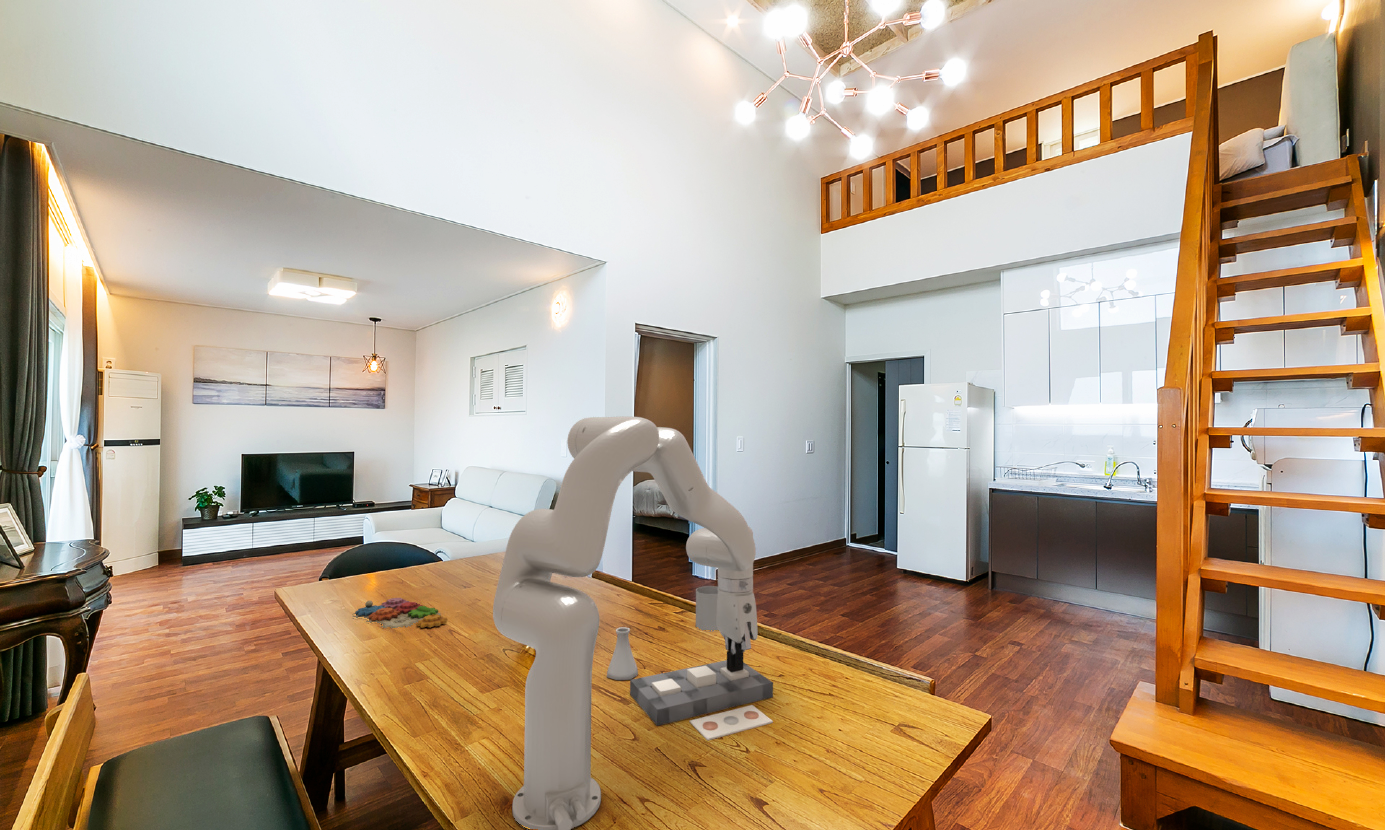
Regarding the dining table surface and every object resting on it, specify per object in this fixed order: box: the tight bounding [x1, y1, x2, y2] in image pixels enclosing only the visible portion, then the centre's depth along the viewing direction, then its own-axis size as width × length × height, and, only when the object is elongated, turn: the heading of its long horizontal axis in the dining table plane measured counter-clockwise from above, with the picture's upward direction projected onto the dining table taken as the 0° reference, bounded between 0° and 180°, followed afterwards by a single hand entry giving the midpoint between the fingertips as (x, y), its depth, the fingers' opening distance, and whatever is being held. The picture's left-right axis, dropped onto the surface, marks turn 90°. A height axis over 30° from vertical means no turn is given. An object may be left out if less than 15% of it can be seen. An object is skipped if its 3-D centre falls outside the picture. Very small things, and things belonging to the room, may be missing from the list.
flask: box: [606, 626, 639, 681], centre depth 129 cm, size 7×7×10 cm
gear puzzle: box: [352, 597, 448, 629], centre depth 165 cm, size 31×16×4 cm, turn 58°
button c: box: [652, 679, 681, 696], centre depth 115 cm, size 4×4×4 cm
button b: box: [687, 665, 716, 688], centre depth 119 cm, size 4×4×4 cm
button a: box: [720, 667, 749, 681], centre depth 122 cm, size 4×4×4 cm
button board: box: [629, 659, 774, 727], centre depth 119 cm, size 14×26×3 cm, turn 117°
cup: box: [695, 585, 718, 632], centre depth 161 cm, size 8×8×10 cm
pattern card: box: [689, 704, 774, 741], centre depth 108 cm, size 7×14×1 cm, turn 117°
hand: (735, 669), depth 123 cm, fingers closed
